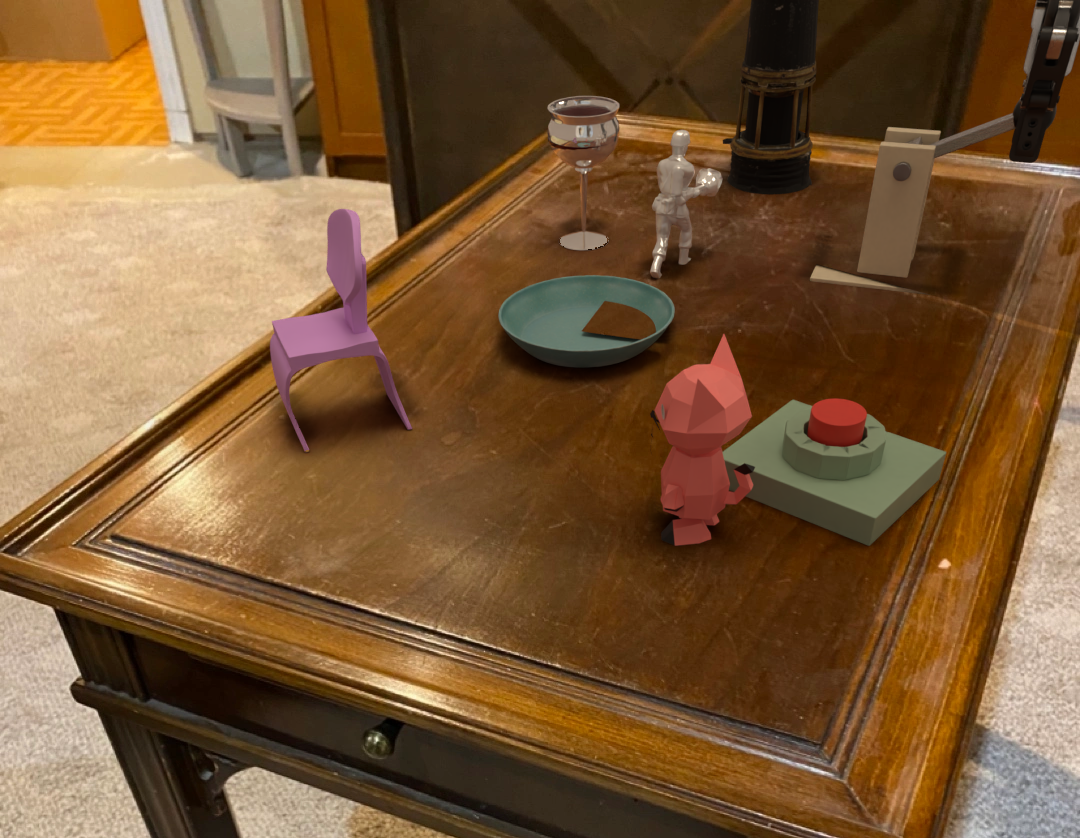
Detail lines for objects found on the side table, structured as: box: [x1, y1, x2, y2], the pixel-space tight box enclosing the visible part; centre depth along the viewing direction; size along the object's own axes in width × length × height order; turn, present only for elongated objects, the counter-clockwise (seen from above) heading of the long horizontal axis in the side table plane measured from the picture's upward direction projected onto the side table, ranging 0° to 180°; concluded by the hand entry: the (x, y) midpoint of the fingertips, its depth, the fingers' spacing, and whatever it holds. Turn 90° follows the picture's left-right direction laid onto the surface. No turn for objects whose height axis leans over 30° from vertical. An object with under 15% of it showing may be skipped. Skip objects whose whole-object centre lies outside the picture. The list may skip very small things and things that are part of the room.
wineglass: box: [546, 95, 621, 251], centre depth 101 cm, size 7×7×12 cm
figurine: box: [649, 129, 723, 279], centre depth 95 cm, size 5×9×12 cm, turn 154°
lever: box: [905, 99, 1057, 160], centre depth 86 cm, size 13×3×3 cm, turn 69°
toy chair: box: [269, 208, 413, 452], centre depth 76 cm, size 8×9×15 cm
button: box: [807, 398, 868, 447], centre depth 70 cm, size 4×4×2 cm
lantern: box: [722, 0, 820, 196], centre depth 103 cm, size 9×9×30 cm
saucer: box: [497, 274, 676, 369], centre depth 89 cm, size 15×15×3 cm
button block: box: [722, 399, 947, 547], centre depth 72 cm, size 12×10×4 cm
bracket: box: [809, 126, 942, 296], centre depth 92 cm, size 12×9×12 cm
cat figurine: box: [649, 333, 755, 546], centre depth 65 cm, size 7×7×12 cm
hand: (1023, 152), depth 86 cm, fingers closed on lever, 3 cm apart
